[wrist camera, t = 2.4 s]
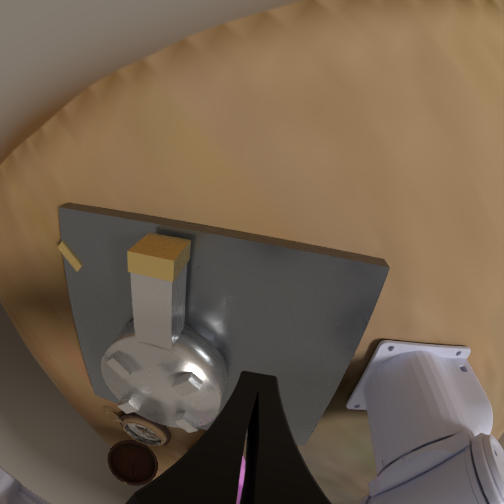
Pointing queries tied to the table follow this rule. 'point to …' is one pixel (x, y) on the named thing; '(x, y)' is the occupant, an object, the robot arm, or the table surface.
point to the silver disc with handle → (163, 344)
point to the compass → (137, 449)
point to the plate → (230, 302)
